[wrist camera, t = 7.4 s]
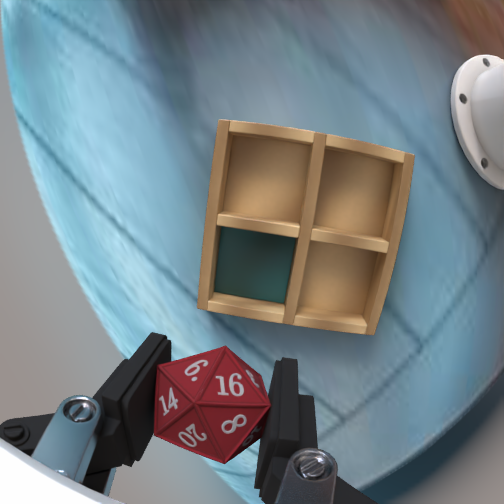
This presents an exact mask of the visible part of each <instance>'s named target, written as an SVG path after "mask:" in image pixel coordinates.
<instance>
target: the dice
mask: <svg viewBox="0 0 504 504" xmlns="http://www.w3.org/2000/svg"><path fill="white" fill-rule="evenodd" d="M270 407H271V404H270V401H269V398H268V395H267V392H266V389H265V386H264V383H263V380H262V376H261V375H260V374H259V373H257V372H256V371H255V370H254V369H253V368H251V367H250V366H249V365H248V364H246V363H245V362H244V361H243V360H242V359H240V358H239V357H238V356H237V355H236V354H235V353H233V352H232V351H231V350H230V349H229V348H228V347H227V346H223V347H221V348H217V349H214V350H211V351H207V352H204V353H200V354H197V355H193V356H190V357H186V358H183V359H179V360H176V361H172V362H168V363H164V364H159V365H157V370H156V388H155V412H154V436H156V437H159V438H161V439H163V440H165V441H168V442H170V443H172V444H174V445H177V446H179V447H182V448H184V449H186V450H189V451H191V452H194V453H196V454H199V455H201V456H204V457H207V458H209V459H212V460H215V461H218V462H220V463H223V464H225V463H227V462H228V461H230V460H231V459H233V458H234V457H235V456H237V455H238V454H240V453H241V452H242V451H244V450H245V449H246V448H248V447H249V446H251V445H252V444H253V443H255V442H256V441H257V440H259V439H260V438H261V437H262V433H263V430H264V427H265V424H266V420H267V417H268V414H269V410H270Z"/></svg>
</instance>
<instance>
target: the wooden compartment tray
mask: <svg viewBox="0 0 504 504" xmlns="http://www.w3.org/2000/svg"><path fill="white" fill-rule="evenodd" d="M414 158H415V155H414V154H410V153H407V152H403V151H399V150H396V149H392V148H388V147H384V146H380V145H376V144H372V143H367V142H363V141H359V140H354V139H350V138H345V137H340V136H335V135H330V134H325V133H319V132H314V131H308V130H302V129H296V128H289V127H283V126H276V125H268V124H260V123H252V122H243V121H233V120H231V121H230V120H222V119H219V120H218V127H217V133H216V140H215V147H214V155H213V162H212V169H211V177H210V185H209V193H208V201H207V210H206V219H205V228H204V237H203V247H202V257H201V267H200V278H199V290H198V302H197V308H198V309H202V310H208V311H212V312H217V313H223V314H228V315H234V316H239V317H245V318H251V319H257V320H263V321H269V322H275V323H283V324H289V325H295V326H302V327H309V328H316V329H324V330H331V331H339V332H348V333H356V334H366V335H374V334H375V331H376V328H377V324H378V321H379V318H380V315H381V312H382V308H383V305H384V302H385V298H386V295H387V291H388V287H389V284H390V280H391V276H392V272H393V269H394V265H395V261H396V256H397V252H398V248H399V243H400V239H401V234H402V230H403V225H404V220H405V215H406V209H407V204H408V198H409V192H410V186H411V180H412V173H413V166H414Z"/></svg>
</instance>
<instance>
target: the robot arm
mask: <svg viewBox="0 0 504 504" xmlns="http://www.w3.org/2000/svg"><path fill="white" fill-rule="evenodd" d="M451 112H452V118H453V123H454V128H455V131H456V134H457V137H458V140H459V143H460V145H461V147H462V149H463V151H464V153H465V156H466V157H467V159H468V160H469V162H470V163H471V165H472V167H473V168H474V169H475V170H476V171H477V173H478V174H479V175H480V176H481V177H482V178H483V179H484V180H485V181H487V182H488V183H489V184H490V185H492V186H494V187H496V188H498V189H501V190H504V60H502V59H500V58H498V57H495V56H491V55H478V56H476V57H473V58H471V59H469V60H468V61H466V62H464V63H463V65H462V66H461V67H460V68H459V69H458V71H457V73H456V75H455V77H454V80H453V84H452V88H451ZM168 362H171V341H170V340H167V336H166V335H162V334H158V333H154V332H152V333H150V335H149V336H148V337H147V338H146V340H145V341H144V342H143V343H142V344H141V346H140V347H139V348H138V349H137V351H136V352H135V353H134V354H133V356H132V357H131V358H130V359H129V360H128V359H124V360H123V361H122V362H121V363H120V365H119V366H118V367H117V368H116V369H115V371H114V372H113V373H112V374H111V375H110V377H109V378H108V379H107V380H106V382H105V383H104V384H103V385H102V386H101V388H100V389H99V390H98V391H97V393H96V394H95V395H94V396H93V398H91V397H88V396H83V395H76V396H71V397H68V398H67V399H65V400H63V402H62V403H61V404H60V405H59V407H58V409H57V411H56V412H55V413H53V414H46V415H40V416H31V417H23V418H14V419H9V420H7V421H5V422H3V423H2V424H1V425H0V504H125V503H122V502H120V501H117V500H115V499H112V498H110V497H108V496H109V493H110V489H111V486H112V482H113V479H114V475H115V472H116V467H119V466H122V464H124V465H127V466H130V467H132V465H133V463H134V461H135V460H136V461H139V460H140V459H141V457H142V455H143V453H144V451H145V449H146V447H147V445H148V443H149V441H150V439H151V437H152V435H153V433H154V412H155V388H156V370H157V365H159V364H164V363H168ZM268 398H269V401H270V404H271V407H270V410H269V414H268V417H267V420H266V424H265V427H264V430H263V433H262V437H261V439H260V447H259V455H258V462H257V470H256V477H255V484H254V489H260V493H259V497H262V499H261V500H262V501H263V502H264V503H265V504H378V503H376V502H375V501H373V500H372V499H370V498H369V497H367V496H366V495H364V494H363V493H361V492H360V491H358V490H357V489H355V488H354V487H352V486H351V485H349V484H348V483H347V482H345V481H344V480H342V479H341V478H340V477H338V476H337V471H338V467H337V463H336V461H335V459H334V458H333V457H332V456H331V455H330V454H329V453H327V452H326V451H324V450H321V449H318V445H317V431H316V417H315V405H314V397H313V396H310V395H300V394H298V362H297V359H291V358H284V357H282V360H281V361H277V360H276V362H275V366H274V371H273V375H272V380H271V384H270V389H269V393H268Z"/></svg>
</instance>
